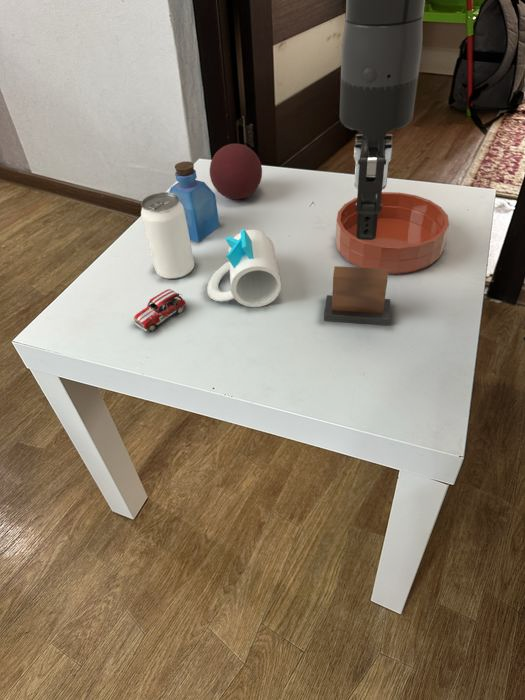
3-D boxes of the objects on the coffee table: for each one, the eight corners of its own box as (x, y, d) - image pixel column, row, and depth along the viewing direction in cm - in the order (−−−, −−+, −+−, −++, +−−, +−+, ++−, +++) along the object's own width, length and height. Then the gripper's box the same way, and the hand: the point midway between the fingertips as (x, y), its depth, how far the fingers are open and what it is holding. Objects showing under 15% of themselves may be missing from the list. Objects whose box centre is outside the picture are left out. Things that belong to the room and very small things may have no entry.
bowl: (439, 220, 87) (444, 193, 83) (446, 278, 75) (452, 250, 71) (340, 216, 90) (341, 190, 86) (331, 272, 78) (332, 245, 74)
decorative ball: (265, 184, 101) (262, 134, 94) (261, 208, 94) (257, 156, 87) (217, 185, 102) (210, 135, 95) (209, 209, 95) (201, 158, 88)
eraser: (389, 305, 71) (395, 264, 66) (389, 325, 68) (395, 284, 63) (326, 301, 73) (327, 261, 68) (323, 320, 70) (324, 280, 65)
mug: (253, 203, 74) (260, 247, 66) (280, 249, 80) (289, 294, 72) (187, 238, 77) (185, 284, 69) (217, 279, 83) (219, 326, 75)
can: (203, 266, 81) (190, 198, 73) (172, 285, 78) (156, 216, 70) (177, 253, 85) (163, 186, 76) (147, 270, 81) (129, 203, 73)
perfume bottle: (198, 242, 86) (186, 177, 78) (171, 234, 89) (157, 169, 81) (219, 226, 90) (210, 161, 82) (193, 218, 93) (181, 154, 84)
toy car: (133, 325, 72) (127, 308, 69) (176, 298, 75) (172, 281, 73) (148, 336, 70) (142, 319, 67) (191, 308, 74) (187, 291, 71)
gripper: (421, 94, 43) (399, 253, 54) (416, 50, 53) (399, 192, 64) (334, 96, 44) (330, 250, 56) (346, 52, 54) (340, 191, 66)
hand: (367, 219), depth 60 cm, fingers open, 8 cm apart
